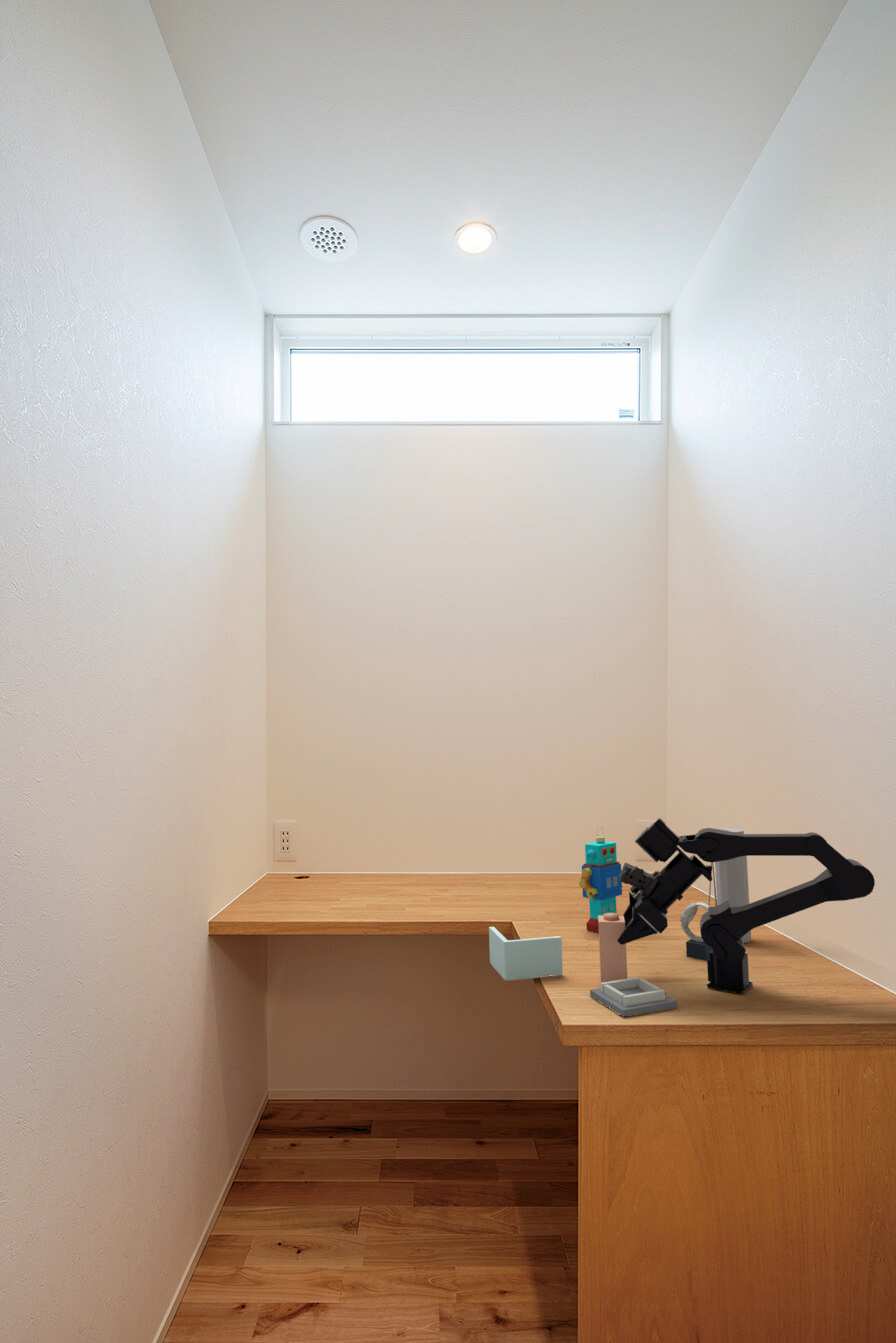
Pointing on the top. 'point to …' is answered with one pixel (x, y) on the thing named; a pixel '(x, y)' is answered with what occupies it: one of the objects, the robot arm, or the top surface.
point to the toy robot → (600, 879)
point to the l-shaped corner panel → (525, 956)
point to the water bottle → (732, 882)
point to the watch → (695, 944)
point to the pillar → (612, 948)
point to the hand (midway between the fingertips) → (618, 936)
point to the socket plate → (633, 996)
